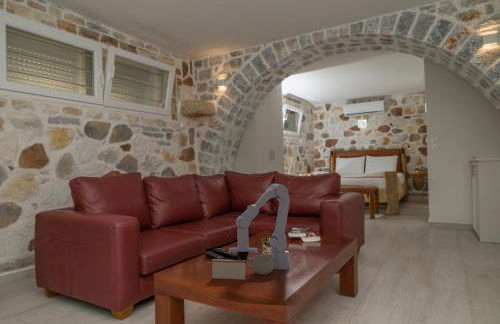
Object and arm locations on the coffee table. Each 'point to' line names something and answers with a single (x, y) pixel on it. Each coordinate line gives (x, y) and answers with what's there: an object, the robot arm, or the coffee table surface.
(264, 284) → the coffee table surface
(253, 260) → the teacup
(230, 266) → the cream slab
